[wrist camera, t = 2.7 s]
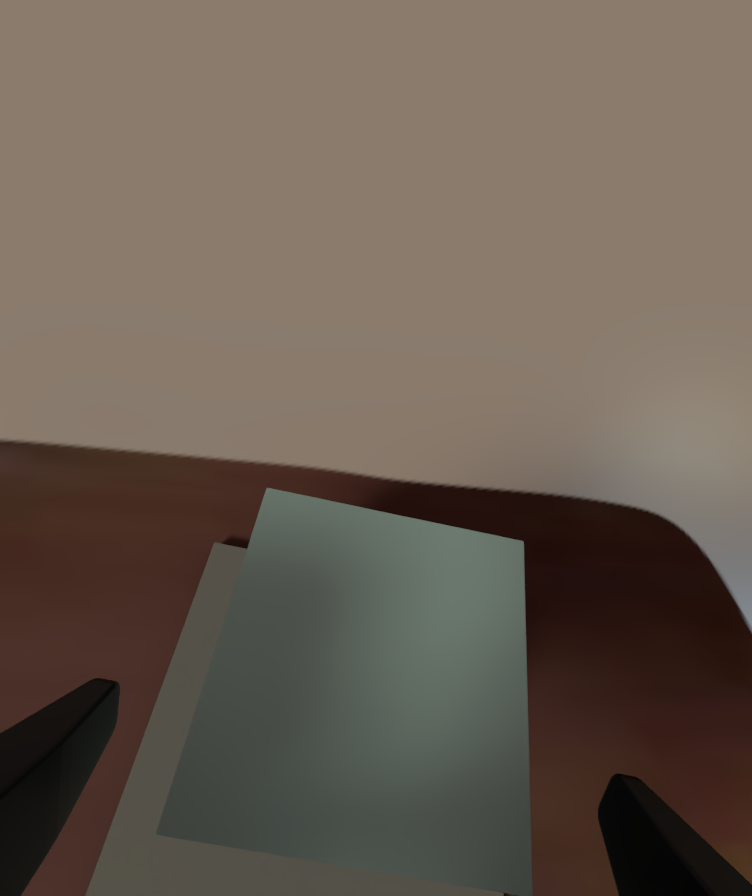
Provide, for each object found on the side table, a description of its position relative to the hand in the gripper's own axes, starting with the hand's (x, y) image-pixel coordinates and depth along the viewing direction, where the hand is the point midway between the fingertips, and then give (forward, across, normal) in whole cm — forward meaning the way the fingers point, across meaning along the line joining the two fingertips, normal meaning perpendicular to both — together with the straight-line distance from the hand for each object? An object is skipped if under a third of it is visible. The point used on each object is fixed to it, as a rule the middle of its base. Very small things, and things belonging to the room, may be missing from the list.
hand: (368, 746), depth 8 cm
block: (+7, 0, +5) cm, 9 cm away
